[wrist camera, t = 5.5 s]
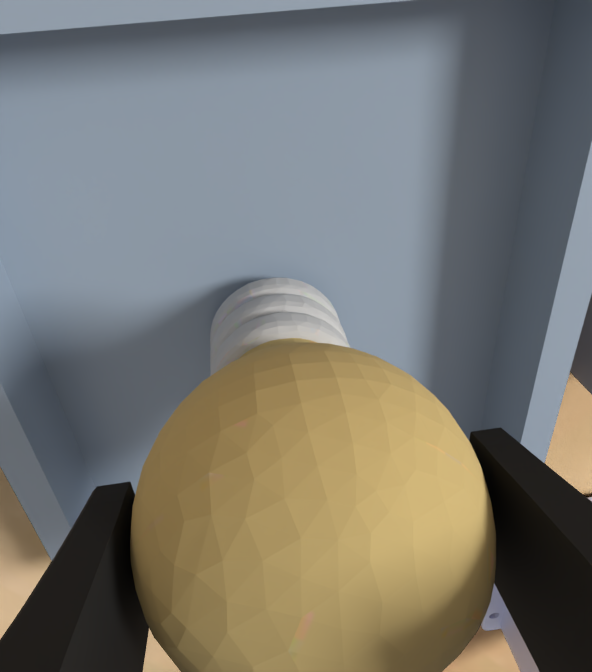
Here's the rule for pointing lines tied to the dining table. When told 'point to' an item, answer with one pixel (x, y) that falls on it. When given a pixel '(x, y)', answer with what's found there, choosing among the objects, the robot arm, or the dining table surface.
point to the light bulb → (309, 506)
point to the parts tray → (282, 208)
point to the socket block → (584, 352)
